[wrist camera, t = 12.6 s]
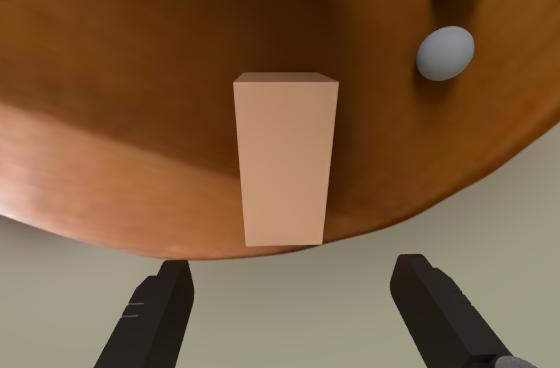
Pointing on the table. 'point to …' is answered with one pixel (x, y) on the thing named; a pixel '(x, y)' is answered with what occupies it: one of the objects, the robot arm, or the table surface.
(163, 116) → the table surface
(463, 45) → the slate ball
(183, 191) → the table surface
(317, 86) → the peach rectangular block
